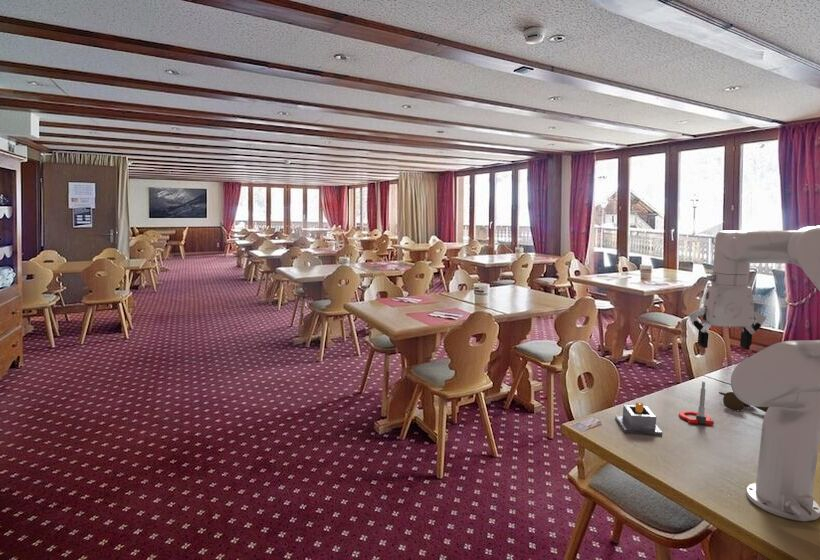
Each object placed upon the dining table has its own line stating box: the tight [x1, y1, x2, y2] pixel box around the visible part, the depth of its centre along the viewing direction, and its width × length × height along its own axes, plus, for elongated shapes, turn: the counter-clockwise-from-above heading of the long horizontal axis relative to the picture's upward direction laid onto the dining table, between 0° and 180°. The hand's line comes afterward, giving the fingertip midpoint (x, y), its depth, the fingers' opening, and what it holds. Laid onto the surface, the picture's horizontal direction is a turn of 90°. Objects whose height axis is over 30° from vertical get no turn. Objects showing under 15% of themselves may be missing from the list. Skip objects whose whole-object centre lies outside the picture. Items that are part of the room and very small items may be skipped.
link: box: [622, 404, 657, 430], centre depth 140 cm, size 8×7×4 cm
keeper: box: [615, 402, 663, 437], centre depth 140 cm, size 10×10×7 cm
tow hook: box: [678, 381, 715, 426], centre depth 145 cm, size 8×13×9 cm
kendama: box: [718, 391, 769, 413], centre depth 152 cm, size 6×10×20 cm
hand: (723, 347), depth 121 cm, fingers open, 9 cm apart
